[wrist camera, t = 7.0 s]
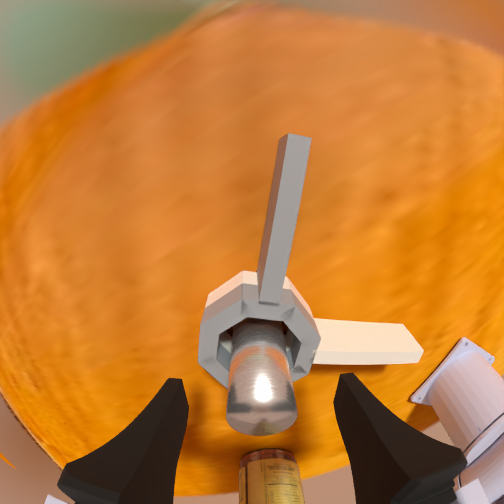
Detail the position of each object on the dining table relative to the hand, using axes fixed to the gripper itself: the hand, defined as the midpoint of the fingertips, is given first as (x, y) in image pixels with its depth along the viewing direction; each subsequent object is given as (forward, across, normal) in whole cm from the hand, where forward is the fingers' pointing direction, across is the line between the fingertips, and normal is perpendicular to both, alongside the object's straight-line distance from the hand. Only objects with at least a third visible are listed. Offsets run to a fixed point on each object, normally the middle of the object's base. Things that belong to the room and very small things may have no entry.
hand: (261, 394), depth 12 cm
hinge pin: (+7, 0, 0) cm, 7 cm away
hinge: (+7, -4, -3) cm, 9 cm away
